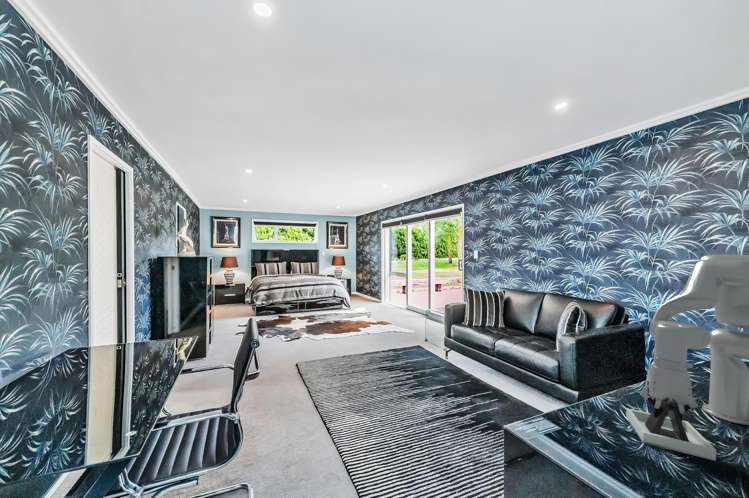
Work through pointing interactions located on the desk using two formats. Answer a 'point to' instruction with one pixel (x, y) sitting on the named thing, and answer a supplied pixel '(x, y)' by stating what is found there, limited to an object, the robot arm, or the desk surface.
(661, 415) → the phone stand
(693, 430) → the tray
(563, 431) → the desk surface
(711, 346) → the robot arm
